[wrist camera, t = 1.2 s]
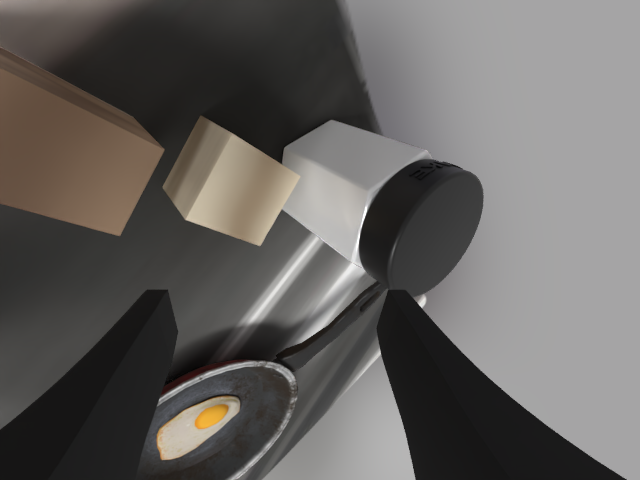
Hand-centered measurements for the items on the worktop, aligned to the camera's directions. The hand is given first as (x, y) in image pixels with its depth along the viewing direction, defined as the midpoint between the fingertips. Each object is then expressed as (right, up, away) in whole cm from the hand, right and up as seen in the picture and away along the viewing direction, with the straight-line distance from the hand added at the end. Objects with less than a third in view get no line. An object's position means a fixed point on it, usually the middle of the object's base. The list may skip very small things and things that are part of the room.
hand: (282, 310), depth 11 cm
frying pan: (-6, -11, +22) cm, 25 cm away
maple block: (-6, +7, +11) cm, 14 cm away
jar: (+1, +8, +16) cm, 18 cm away
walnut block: (-12, +8, +4) cm, 15 cm away
